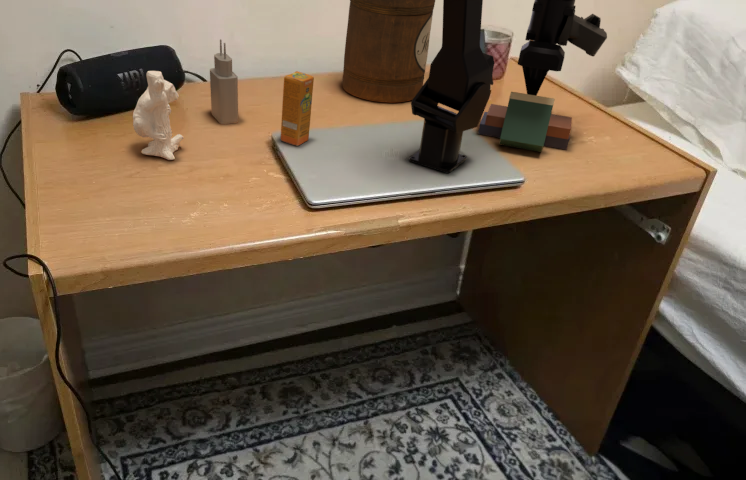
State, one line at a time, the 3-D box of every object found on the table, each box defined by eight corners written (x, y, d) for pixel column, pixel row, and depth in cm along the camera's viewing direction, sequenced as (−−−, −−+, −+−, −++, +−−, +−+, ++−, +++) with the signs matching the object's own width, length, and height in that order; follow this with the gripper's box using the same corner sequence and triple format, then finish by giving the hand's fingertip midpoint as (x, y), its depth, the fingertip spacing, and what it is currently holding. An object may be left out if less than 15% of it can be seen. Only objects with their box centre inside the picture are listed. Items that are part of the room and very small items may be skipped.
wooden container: (434, 102, 118) (454, -31, 106) (355, 104, 115) (367, -33, 102) (405, 75, 130) (420, -47, 118) (332, 77, 126) (341, -49, 114)
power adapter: (220, 124, 103) (218, 46, 97) (210, 112, 107) (207, 36, 101) (239, 122, 105) (238, 45, 98) (228, 110, 109) (226, 35, 102)
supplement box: (299, 147, 98) (301, 80, 93) (280, 141, 100) (281, 75, 94) (311, 140, 101) (314, 75, 95) (292, 134, 102) (294, 69, 96)
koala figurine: (188, 162, 91) (182, 77, 85) (137, 166, 90) (128, 78, 83) (181, 138, 98) (176, 57, 91) (134, 141, 96) (125, 58, 90)
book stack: (482, 121, 112) (486, 101, 110) (567, 136, 109) (573, 116, 107) (477, 134, 107) (481, 113, 105) (566, 150, 104) (572, 129, 102)
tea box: (501, 134, 107) (512, 86, 103) (543, 142, 106) (555, 93, 102) (497, 150, 102) (508, 100, 97) (540, 158, 100) (553, 107, 96)
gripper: (614, 16, 89) (582, 127, 97) (610, -8, 104) (583, 89, 112) (530, 5, 91) (506, 114, 100) (538, -17, 106) (516, 79, 115)
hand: (531, 98), depth 107 cm, fingers closed
